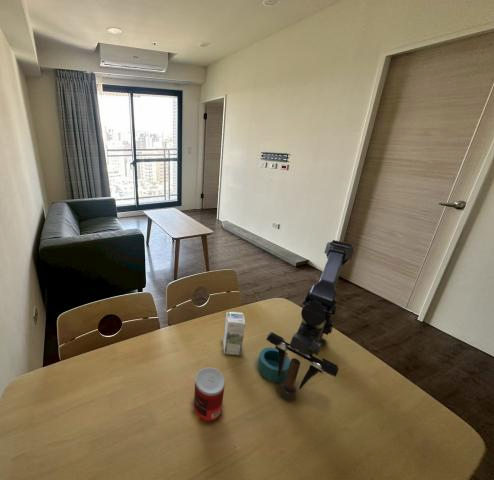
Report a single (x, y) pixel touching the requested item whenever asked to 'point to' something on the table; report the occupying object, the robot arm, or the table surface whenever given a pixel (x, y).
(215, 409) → the canned food
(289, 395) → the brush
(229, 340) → the syrup box
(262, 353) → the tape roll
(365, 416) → the table surface
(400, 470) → the table surface
